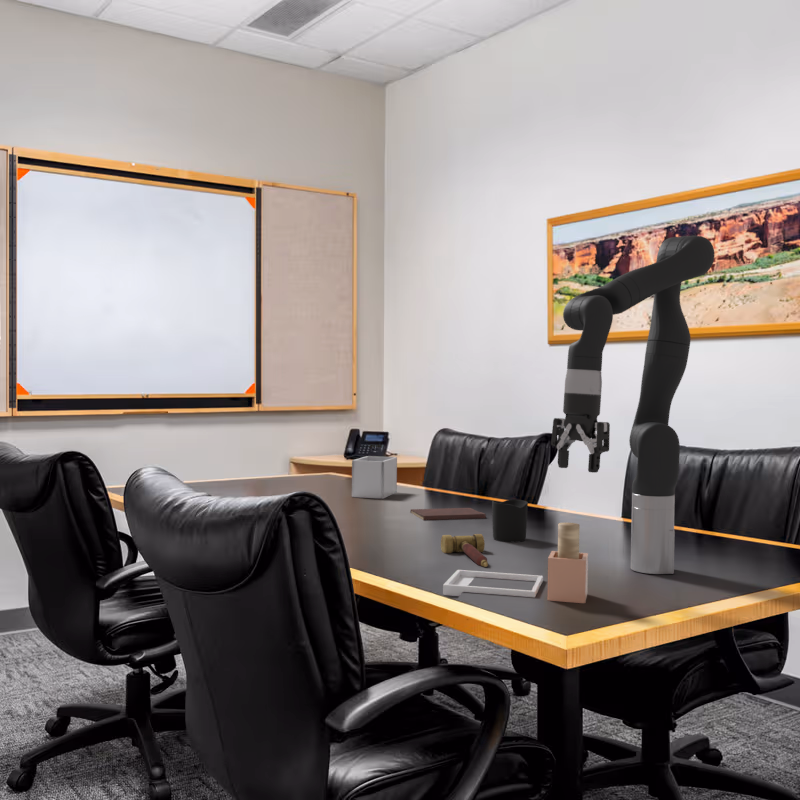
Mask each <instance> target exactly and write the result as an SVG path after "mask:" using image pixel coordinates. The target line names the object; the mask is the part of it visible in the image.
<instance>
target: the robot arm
mask: <svg viewBox="0 0 800 800" xmlns="http://www.w3.org/2000/svg"><path fill="white" fill-rule="evenodd" d="M658 248H659V249H658V251H657V255H656V259H655V260H656V262H654V263H651V264H648V265H645V266H642V267H638V268H635V269H632V270H630V271H628V272H626V273H623V274H621V275H620V276H617V277H616V278H614V279H612V280H611V281H609V282H607V283H606V284H604V285H602V286H599V287H597V288H593V289H591V290H588V291H586V292H583V293H581V294H578V295H576V296H574V297H573V298H571V299H570V300H569V301H568V302H567V303H566V305H565V306H564V308H563V312H562V318H563V321H564V323H565V325H566V326H567V327H569V328H570V329H571V330H574V331H581V335H580V337H579V339H578V340H577V341H573V342H572V343H571V344H569V346H568V350H567V351H568V352H567V353H568V354H567V361H566V362H567V363H566V364H567V367H566V369H567V370H566V375H565V380H564V393H563V396H564V397H563V407H562V408H563V409H562V413H564V415H565V417H564V418H563V417H562V418H561V417H554V418H553V421H552V430H551V438H550V439H551V440H550V445H551V446H553V447H555V448H556V449H557V451H558V452H557V464H558V468H560V469H567V468H568V467H569V460H570V458H569V455H570V450H569V449H570V448H571V446H572V444H574V443H575V442H576V441H578V442H583V444H584V445H585V446H587V449H588V451H589V455H588V465H587V466H588V468H587V470H588V473H598V472H599V470H600V467H601V465H600V464H601V455H602V454H603V453H606V452H609V451H610V429H611V427H610V422H608V421H606V422H605V421H598V416H600V414H601V405H602V404H601V401H602V400H601V399H602V388H603V387H602V384H603V380H602V366H603V352H604V349H605V346H606V344H607V339H608V336H609V335H610V330H611V328H612V323H613V321H614V318H613V317H614V316H615V315H619V314H622V313H624V312H626V311H628V310H630V309H631V308H632V307H635V306H636V305H638V304H640V303H641V302H643V301H646V300H647V299H648V298H650V297H653V304H652V312H651V319H650V326H649V331H648V336H647V341H646V347H645V352H644V353H645V354H644V365H643V370H642V374H641V375H642V377H641V384H640V394H639V399H638V400H639V401H638V404H637V408H636V412H635V416H634V418H633V419H634V420H633V422H632V423H633V424H632V426H631V431H630V434H629V438H628V439H629V448H630V450H631V453H632V454H633V455H634V456H635V458H636V459H637V464H636V465H637V466H636V468H637V469H636V476H635V477H634V479H633V480H632V483H631V485H632V486H631V525H630V526H631V527H630V528H631V529H630V530H631V533H630V569H631V570H632V571H634V572H637V573H641V574H642V573H643V574H650V575H666V574H670V575H671V574H674V573H675V572H674V571H675V538H676V537H675V534H676V532H675V504H676V503H675V502H676V501H675V500H676V499H675V498H676V497H675V495H676V494H675V493H676V487H677V484H678V481H679V472H680V471H679V470H680V469H679V468H680V456H681V455H680V453H681V452H680V450H681V448H680V447H681V446H680V439H679V436H678V434H677V432H676V430H675V429H674V428H673V427H671V426H670V425H669V422H670V413H671V405H672V402H673V399H674V397H675V394H676V392H677V390H678V388H679V385H680V383H681V382H682V379H683V377H684V374H685V371H686V368H687V365H688V364H687V363H688V358H689V354H690V346H691V333H690V332H691V331H690V328H689V326H688V325H689V324H688V323H687V320H686V318H685V315H684V312H683V310H682V306H681V305H682V304H681V289H682V283H683V282H686V281H689V280H691V279H694V278H695V279H696V278H697V277H701V276H703V275H705V274H707V273H708V272H709V271H710V269H711V268H712V266H713V264H714V262H715V248H714V246H713V244H712V242H711V241H710V239H708V238H707V237H704V236H702V235H684V236H673V237H669V238H666V239H664V241H663V242H662V243H660V246H659V247H658ZM674 575H675V574H674Z"/></svg>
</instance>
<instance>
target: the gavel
mask: <svg viewBox="0 0 800 800" xmlns="http://www.w3.org/2000/svg"><path fill="white" fill-rule="evenodd" d="M485 546H486V545H485V538H484V536H483V534H482V533H475V534H473V535H454V536H452V535H451V534H442V536H441V539H440V549H441V552H442V553H444V554H452V553H464V554H465V555H466V556H468V558H470V559H471V561H473V562H474V564H476V565H477V566H480V567H484V568H486V567H488V566H489V563H488V562H489V561H488V558H487V557H486V556H485V555H484V554H483V552H485V551H484V550H485Z"/></svg>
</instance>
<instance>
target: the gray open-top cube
mask: <svg viewBox="0 0 800 800" xmlns="http://www.w3.org/2000/svg"><path fill="white" fill-rule="evenodd" d="M397 480H398V457H397V456H396V457H395V456H374V455H373V456H371V455H368V456H367V455H366V456H363V457H360V458H356V459H352V460H351V497H352V498H361V499H364V498H366V499H386V498H387V497H389V496H392V495H393V494H394V495H395V494H396V493H397V492H398V490H397V489H398V485H397V484H398V481H397Z"/></svg>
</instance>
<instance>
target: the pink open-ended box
mask: <svg viewBox="0 0 800 800" xmlns="http://www.w3.org/2000/svg"><path fill="white" fill-rule="evenodd" d="M588 577H589V552H579V559H570V558H558V550H551V551H550V554H549V555H548V557H547V598H546V599H547V600H546V601H550V602H551V601H552V602H561V603H562V602H564V603H565V602H566V603H575V604H576V603H577V604H578V603H579V604H586V602H587V598H588V587H589V586H588V580H589V579H588Z"/></svg>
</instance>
